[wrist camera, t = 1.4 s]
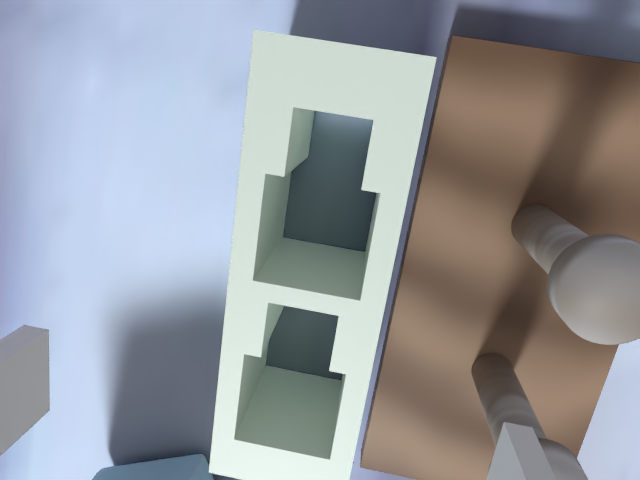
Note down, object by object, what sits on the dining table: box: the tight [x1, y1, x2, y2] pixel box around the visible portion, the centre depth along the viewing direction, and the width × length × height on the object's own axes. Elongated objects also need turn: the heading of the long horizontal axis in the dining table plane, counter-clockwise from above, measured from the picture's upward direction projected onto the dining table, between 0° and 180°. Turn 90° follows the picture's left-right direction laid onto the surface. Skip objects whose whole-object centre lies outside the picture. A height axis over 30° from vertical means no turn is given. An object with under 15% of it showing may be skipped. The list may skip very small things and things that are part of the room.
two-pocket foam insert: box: [209, 30, 437, 480], centre depth 25 cm, size 21×7×7 cm, turn 172°
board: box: [360, 35, 640, 480], centre depth 23 cm, size 25×12×11 cm, turn 171°
